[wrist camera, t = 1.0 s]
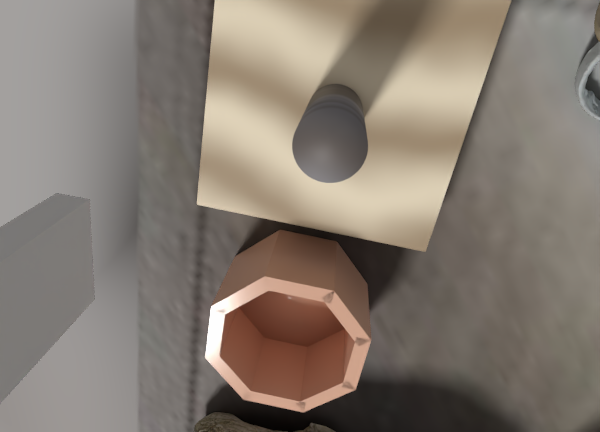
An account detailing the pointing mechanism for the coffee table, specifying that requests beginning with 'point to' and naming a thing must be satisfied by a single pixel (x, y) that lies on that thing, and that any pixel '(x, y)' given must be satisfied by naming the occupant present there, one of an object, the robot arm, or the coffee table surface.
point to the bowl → (290, 322)
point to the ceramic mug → (587, 97)
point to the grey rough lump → (241, 425)
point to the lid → (343, 110)
